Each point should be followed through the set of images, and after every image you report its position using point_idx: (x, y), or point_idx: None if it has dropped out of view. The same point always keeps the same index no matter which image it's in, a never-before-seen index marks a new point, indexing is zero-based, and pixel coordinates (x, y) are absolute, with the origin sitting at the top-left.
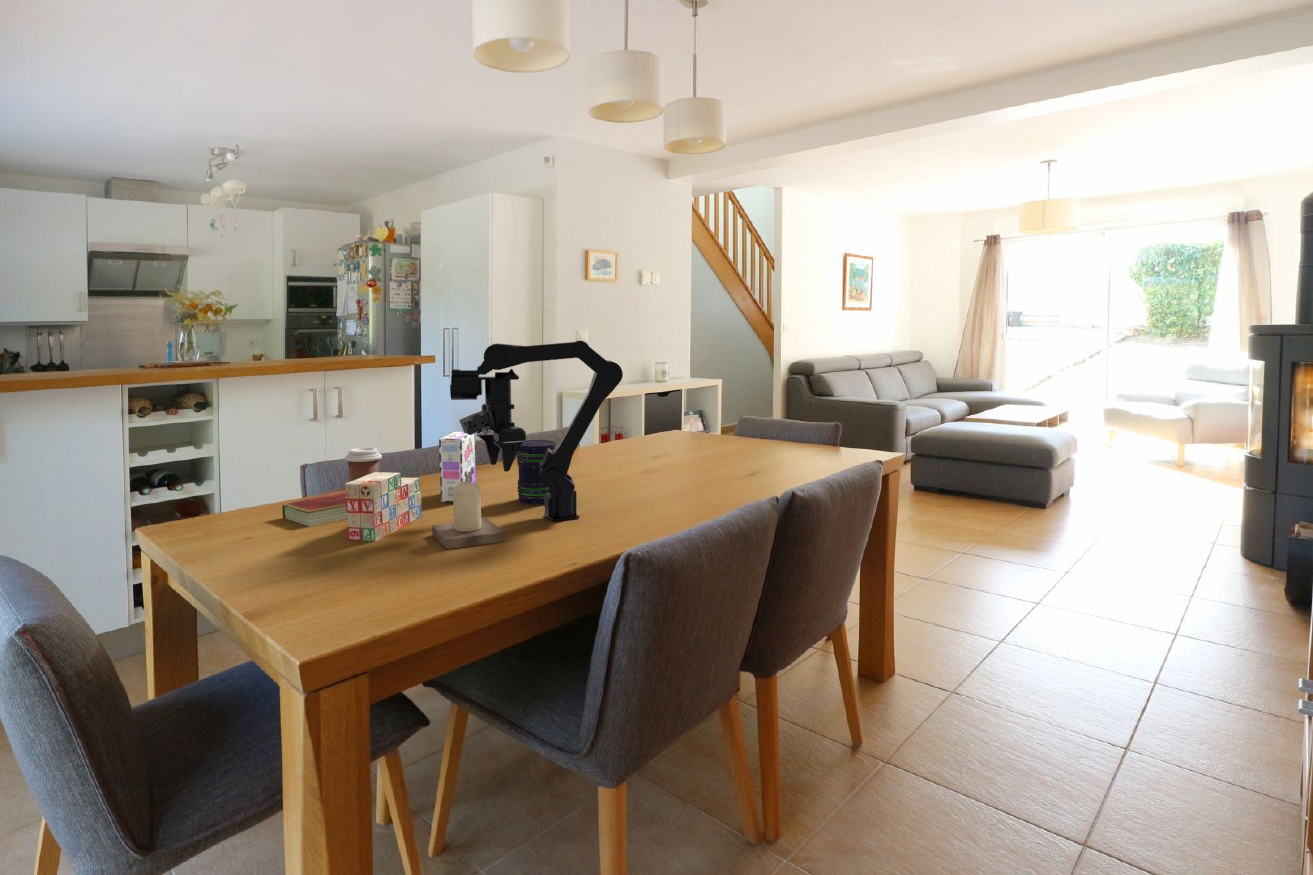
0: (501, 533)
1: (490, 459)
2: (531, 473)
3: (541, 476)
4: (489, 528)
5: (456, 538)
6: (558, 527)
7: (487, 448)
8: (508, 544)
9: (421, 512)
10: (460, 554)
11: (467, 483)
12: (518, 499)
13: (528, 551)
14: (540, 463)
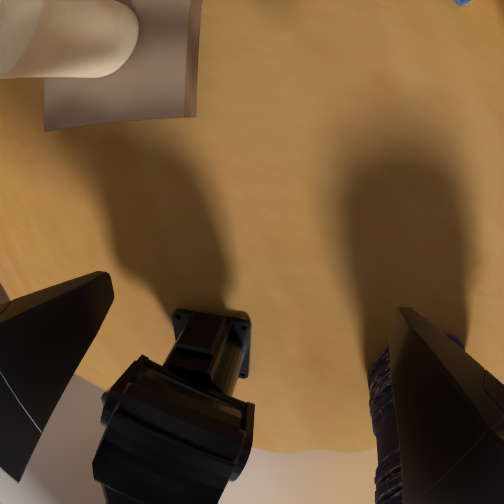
0: (46, 123)
1: (408, 327)
2: None
3: (128, 384)
4: (81, 99)
5: None
6: (125, 289)
7: (461, 389)
8: (43, 131)
9: (465, 3)
10: None
11: (5, 24)
12: (449, 337)
13: (6, 158)
14: (174, 448)
